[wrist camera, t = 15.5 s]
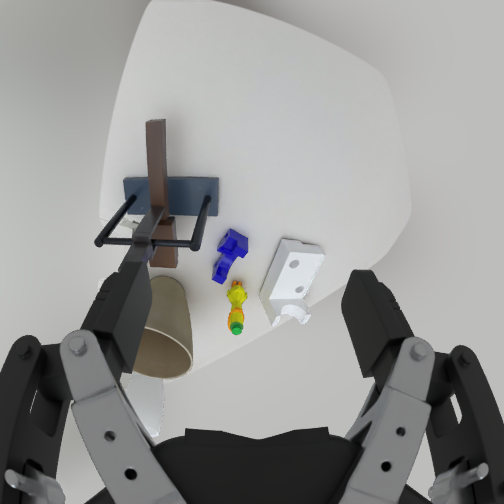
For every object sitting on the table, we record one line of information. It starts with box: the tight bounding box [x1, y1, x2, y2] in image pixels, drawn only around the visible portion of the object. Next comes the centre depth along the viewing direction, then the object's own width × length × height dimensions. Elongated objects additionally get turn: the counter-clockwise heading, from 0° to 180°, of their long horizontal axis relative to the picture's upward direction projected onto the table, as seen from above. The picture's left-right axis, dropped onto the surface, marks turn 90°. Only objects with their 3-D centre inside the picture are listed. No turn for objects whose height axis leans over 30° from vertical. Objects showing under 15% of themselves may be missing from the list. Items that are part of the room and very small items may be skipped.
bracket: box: [259, 239, 326, 326], centre depth 48 cm, size 13×7×8 cm, turn 164°
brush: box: [118, 119, 178, 272], centre depth 30 cm, size 4×20×15 cm, turn 176°
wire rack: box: [94, 177, 219, 251], centre depth 36 cm, size 6×15×15 cm, turn 86°
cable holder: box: [212, 229, 248, 284], centre depth 47 cm, size 8×4×4 cm, turn 146°
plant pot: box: [133, 276, 193, 379], centre depth 46 cm, size 15×15×16 cm
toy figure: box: [227, 281, 247, 335], centre depth 48 cm, size 7×4×12 cm, turn 169°
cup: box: [125, 372, 164, 437], centre depth 57 cm, size 10×10×22 cm
